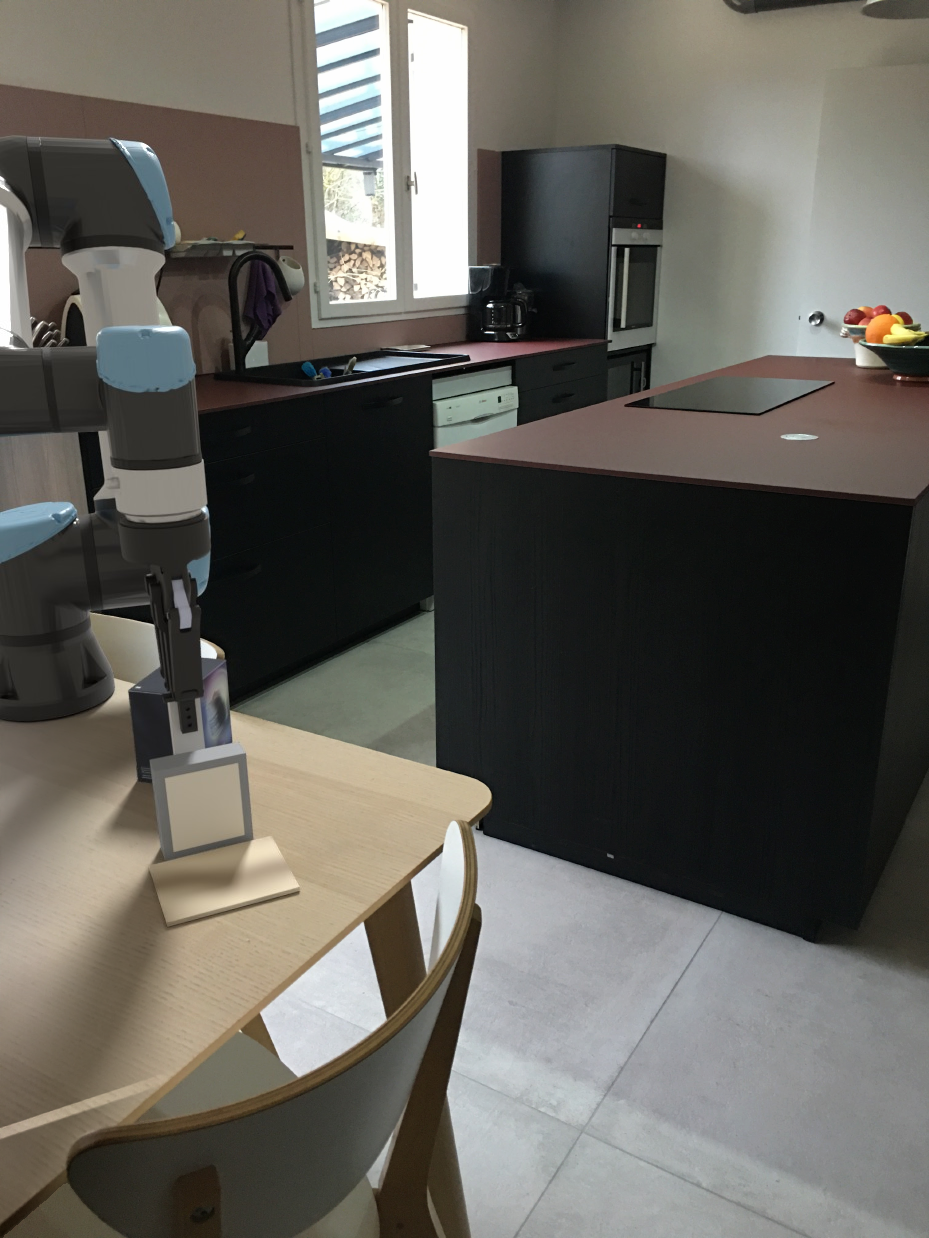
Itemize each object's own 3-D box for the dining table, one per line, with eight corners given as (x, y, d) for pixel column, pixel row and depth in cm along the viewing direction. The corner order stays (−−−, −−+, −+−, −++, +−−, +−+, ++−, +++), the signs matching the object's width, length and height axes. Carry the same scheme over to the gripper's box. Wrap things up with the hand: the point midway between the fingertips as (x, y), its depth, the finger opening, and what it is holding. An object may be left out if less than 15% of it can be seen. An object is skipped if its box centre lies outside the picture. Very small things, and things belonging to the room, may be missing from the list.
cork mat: (149, 869, 86) (148, 865, 86) (271, 839, 90) (271, 835, 90) (167, 926, 78) (166, 922, 78) (299, 890, 83) (299, 886, 83)
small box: (193, 789, 99) (183, 695, 96) (135, 783, 101) (122, 690, 97) (236, 744, 109) (228, 656, 106) (183, 739, 110) (173, 652, 107)
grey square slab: (160, 847, 89) (149, 759, 86) (247, 826, 93) (239, 741, 90) (165, 861, 87) (154, 772, 84) (253, 840, 90) (246, 753, 87)
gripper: (107, 502, 88) (138, 738, 96) (128, 533, 77) (160, 797, 85) (191, 494, 91) (214, 724, 99) (223, 523, 80) (246, 779, 88)
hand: (189, 757), depth 92 cm, fingers closed
